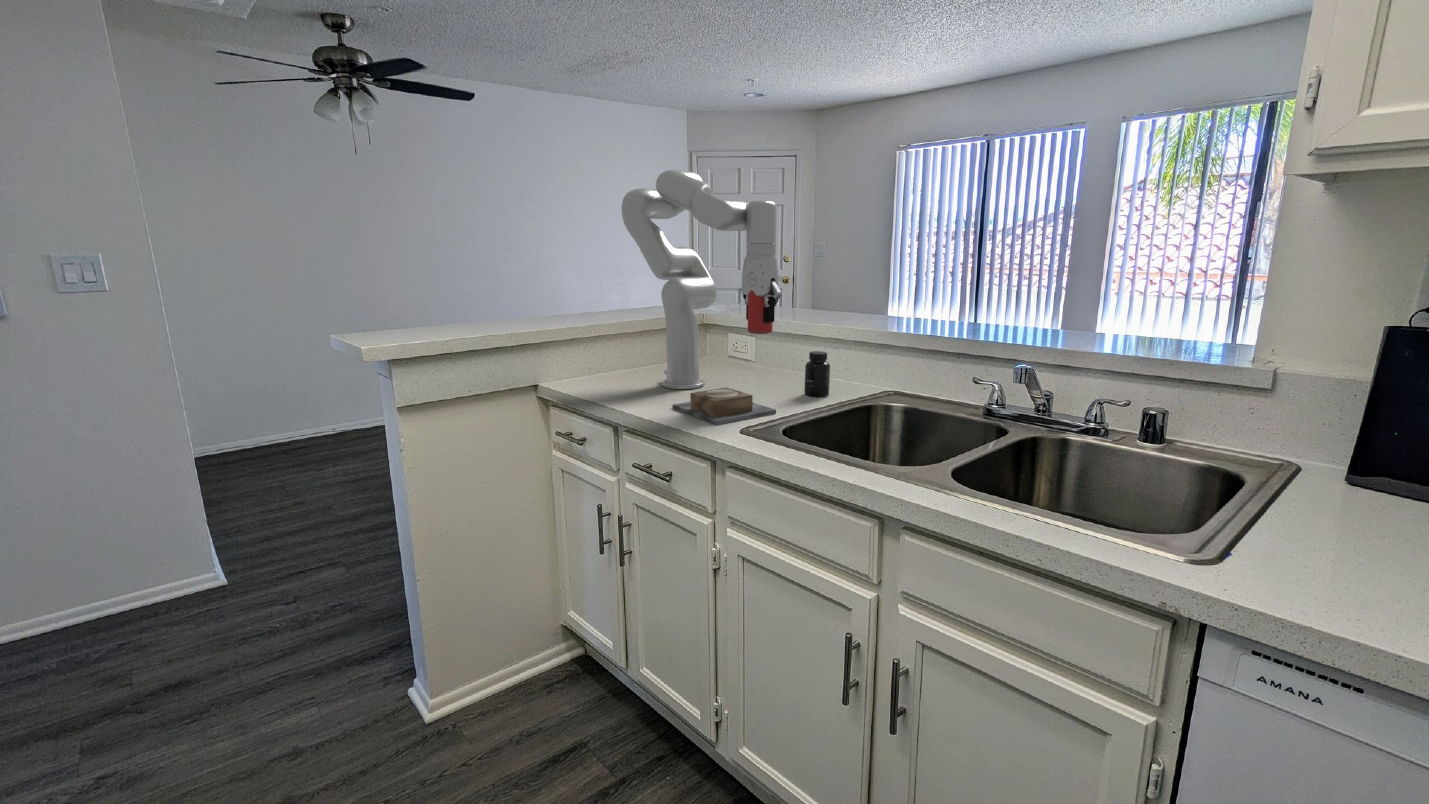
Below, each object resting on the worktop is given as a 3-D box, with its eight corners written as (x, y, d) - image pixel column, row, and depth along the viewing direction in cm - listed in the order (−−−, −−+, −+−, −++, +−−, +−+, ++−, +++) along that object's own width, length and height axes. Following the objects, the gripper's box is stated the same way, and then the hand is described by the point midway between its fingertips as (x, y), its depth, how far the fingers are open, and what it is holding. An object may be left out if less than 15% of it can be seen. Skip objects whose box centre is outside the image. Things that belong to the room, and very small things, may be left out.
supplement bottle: (801, 396, 184) (802, 353, 181) (807, 391, 190) (808, 349, 187) (826, 398, 181) (827, 355, 179) (831, 393, 188) (833, 351, 185)
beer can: (770, 334, 173) (771, 287, 170) (745, 334, 174) (746, 287, 171) (773, 331, 179) (774, 285, 176) (749, 330, 180) (749, 285, 178)
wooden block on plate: (672, 408, 173) (671, 388, 171) (729, 398, 183) (729, 379, 181) (716, 425, 157) (716, 403, 155) (776, 413, 166) (776, 393, 165)
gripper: (729, 250, 177) (729, 318, 181) (771, 251, 163) (769, 325, 167) (751, 250, 181) (751, 316, 185) (794, 251, 167) (792, 323, 171)
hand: (760, 320), depth 176 cm, fingers closed on beer can, 6 cm apart
